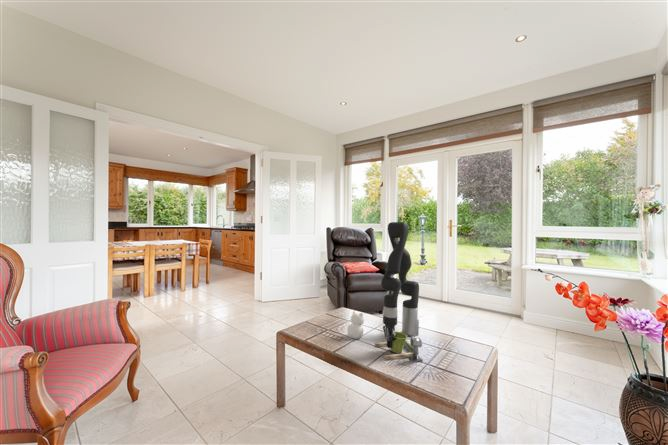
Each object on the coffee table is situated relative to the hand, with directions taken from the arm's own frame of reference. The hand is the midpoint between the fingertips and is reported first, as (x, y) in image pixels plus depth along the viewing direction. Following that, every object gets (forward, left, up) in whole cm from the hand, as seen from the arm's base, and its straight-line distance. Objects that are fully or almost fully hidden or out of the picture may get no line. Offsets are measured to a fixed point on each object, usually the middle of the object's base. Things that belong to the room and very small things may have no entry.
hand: (389, 347), depth 142 cm
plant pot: (-4, 0, -2) cm, 5 cm away
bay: (-4, 0, -3) cm, 5 cm away
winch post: (-9, +10, -3) cm, 13 cm away
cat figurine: (+12, -22, -3) cm, 25 cm away
